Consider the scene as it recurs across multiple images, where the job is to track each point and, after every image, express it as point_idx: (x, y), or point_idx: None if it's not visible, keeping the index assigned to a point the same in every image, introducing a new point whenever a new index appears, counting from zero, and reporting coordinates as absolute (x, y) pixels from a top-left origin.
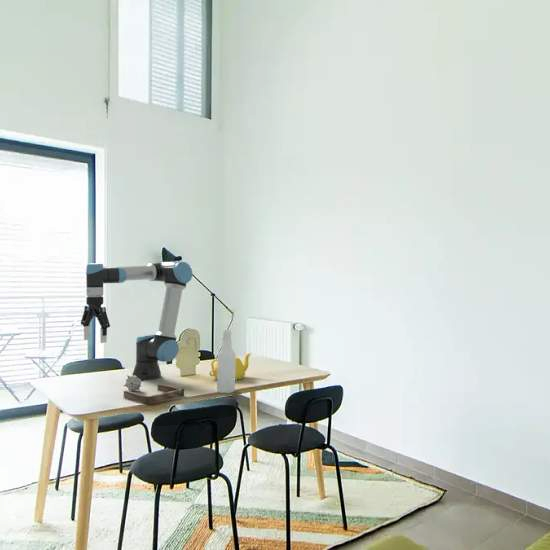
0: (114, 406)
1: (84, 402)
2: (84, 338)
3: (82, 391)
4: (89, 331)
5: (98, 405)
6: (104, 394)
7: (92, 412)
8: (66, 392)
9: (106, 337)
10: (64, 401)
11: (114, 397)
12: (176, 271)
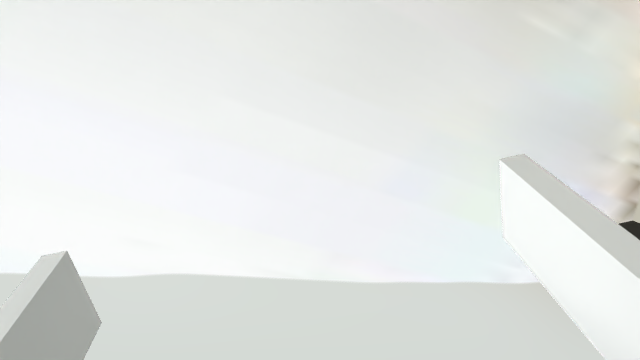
0: (618, 104)
1: (443, 193)
2: (83, 341)
3: (195, 121)
4: (3, 353)
5: (543, 159)
6: (346, 42)
7: (625, 219)
8: (173, 200)
9: (567, 186)
10: (363, 258)
11: (453, 23)
12: None
